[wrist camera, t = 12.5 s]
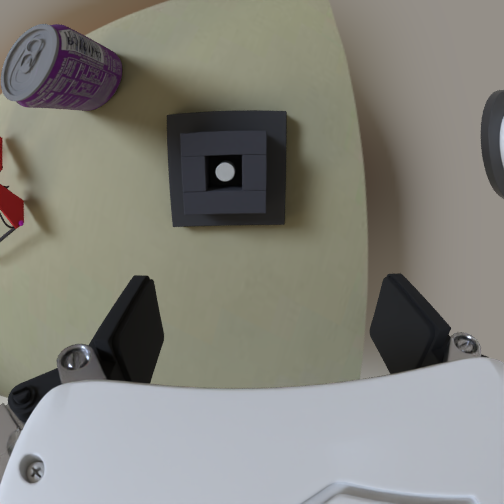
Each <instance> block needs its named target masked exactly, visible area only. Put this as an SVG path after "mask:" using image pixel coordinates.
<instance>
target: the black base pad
mask: <svg viewBox="0 0 504 504" xmlns="http://www.w3.org/2000/svg"><path fill="white" fill-rule="evenodd" d="M286 121H287V112H286V111H212V112H196V113H183V114H172V115H167V144H168V167H169V184H170V198H171V211H172V222H173V227H184V226H220V225H284V223H285V190H286ZM215 131H267V154H266V155H267V185H266V213H243V214H201V215H185V214H184V200H183V184H182V164H181V158H182V157H181V136H180V134H182V133H196V132H215ZM209 174H210V186H218V185H242V155H213V156H209Z"/></svg>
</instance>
